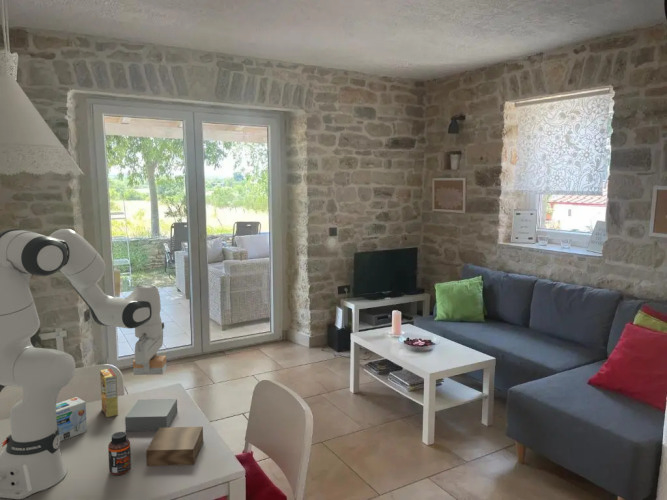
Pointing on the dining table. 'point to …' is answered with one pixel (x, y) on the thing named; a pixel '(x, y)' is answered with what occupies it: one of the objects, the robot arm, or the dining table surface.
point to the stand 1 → (151, 414)
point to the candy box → (109, 392)
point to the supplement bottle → (119, 454)
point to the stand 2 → (175, 446)
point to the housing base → (152, 371)
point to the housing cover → (153, 362)
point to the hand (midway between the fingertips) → (150, 367)
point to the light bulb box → (71, 418)
